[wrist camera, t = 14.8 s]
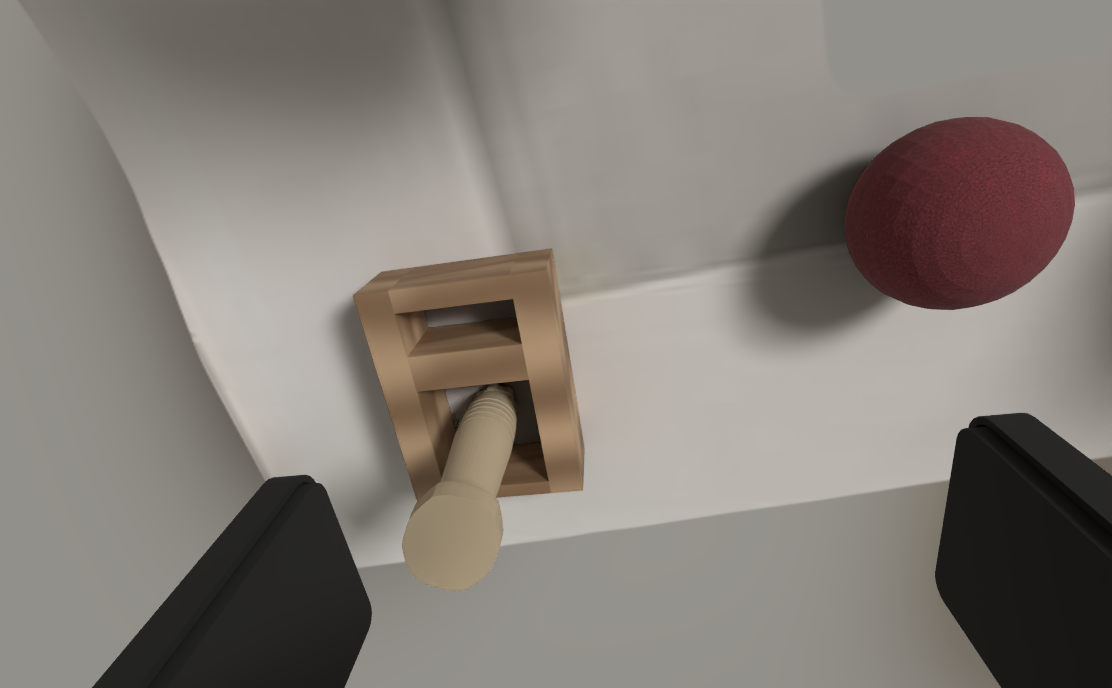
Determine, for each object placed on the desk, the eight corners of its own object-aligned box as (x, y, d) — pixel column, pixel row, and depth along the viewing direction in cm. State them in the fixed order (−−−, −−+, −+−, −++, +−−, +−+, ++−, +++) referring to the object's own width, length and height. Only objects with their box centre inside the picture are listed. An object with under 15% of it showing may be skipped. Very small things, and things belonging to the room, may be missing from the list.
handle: (455, 423, 44) (392, 574, 30) (478, 353, 41) (419, 483, 28) (515, 442, 44) (478, 600, 30) (541, 374, 42) (513, 513, 28)
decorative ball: (865, 307, 38) (949, 375, 29) (788, 186, 35) (855, 220, 26) (1018, 214, 35) (1167, 257, 26) (947, 74, 32) (1086, 67, 23)
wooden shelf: (381, 272, 39) (352, 295, 35) (552, 248, 38) (546, 270, 33) (436, 462, 45) (418, 503, 41) (584, 449, 44) (582, 490, 39)
